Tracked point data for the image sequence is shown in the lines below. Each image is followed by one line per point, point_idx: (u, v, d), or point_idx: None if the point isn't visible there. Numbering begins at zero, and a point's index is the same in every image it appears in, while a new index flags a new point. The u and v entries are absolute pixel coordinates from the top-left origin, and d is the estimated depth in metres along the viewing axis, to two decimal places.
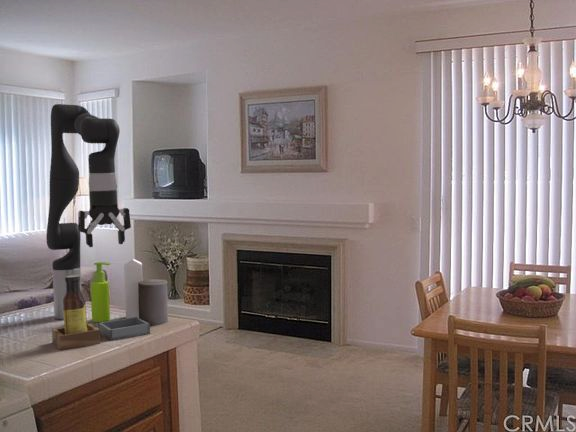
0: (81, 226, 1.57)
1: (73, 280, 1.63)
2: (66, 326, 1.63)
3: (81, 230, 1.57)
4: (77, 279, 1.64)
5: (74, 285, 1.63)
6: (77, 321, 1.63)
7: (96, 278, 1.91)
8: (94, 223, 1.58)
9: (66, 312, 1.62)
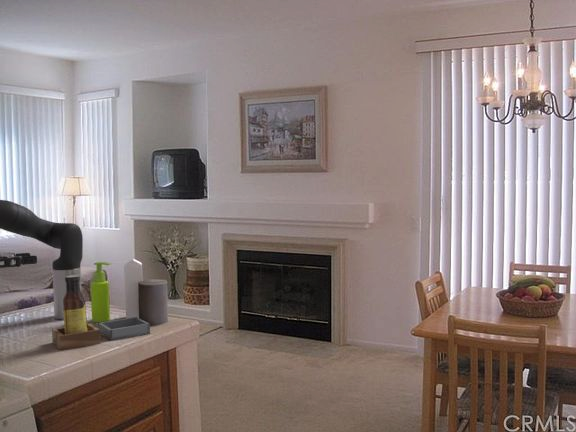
0: None
1: (73, 280, 1.63)
2: (66, 326, 1.63)
3: None
4: (77, 279, 1.64)
5: (74, 285, 1.63)
6: (77, 321, 1.63)
7: (96, 278, 1.91)
8: None
9: (66, 312, 1.62)
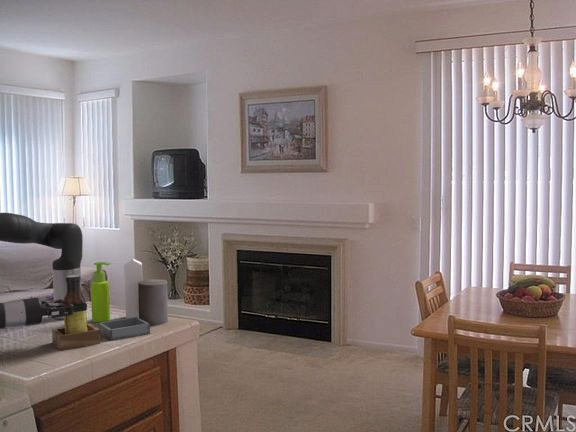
0: None
1: (73, 280, 1.63)
2: (66, 326, 1.63)
3: None
4: (78, 279, 1.64)
5: (75, 285, 1.63)
6: (78, 321, 1.62)
7: (96, 278, 1.91)
8: None
9: None
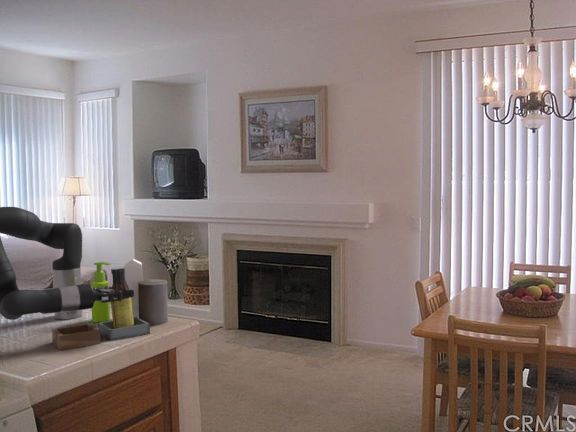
0: None
1: (119, 272, 1.72)
2: (114, 315, 1.72)
3: None
4: (122, 271, 1.73)
5: (120, 277, 1.73)
6: (125, 310, 1.72)
7: (96, 278, 1.91)
8: None
9: (114, 302, 1.72)
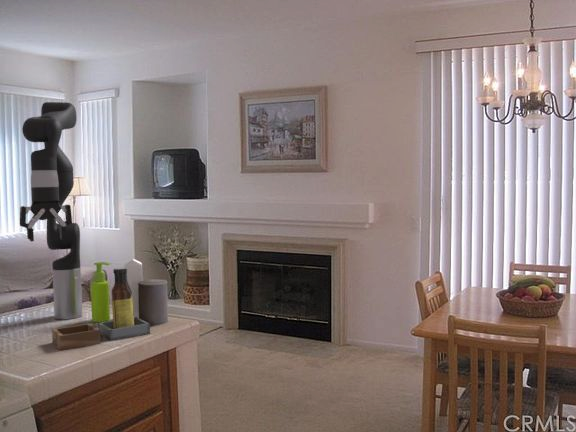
0: (22, 221, 1.63)
1: (121, 272, 1.73)
2: (115, 315, 1.72)
3: (22, 224, 1.63)
4: (125, 271, 1.74)
5: (122, 277, 1.73)
6: (125, 310, 1.72)
7: (96, 278, 1.91)
8: (35, 218, 1.65)
9: (115, 302, 1.72)
